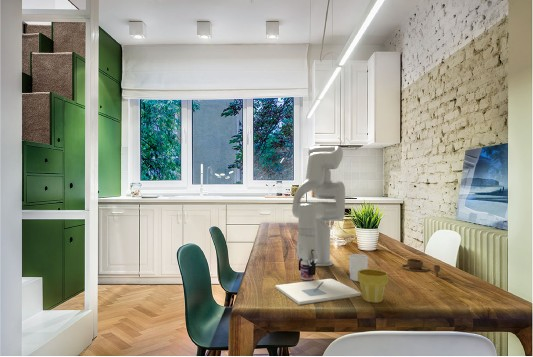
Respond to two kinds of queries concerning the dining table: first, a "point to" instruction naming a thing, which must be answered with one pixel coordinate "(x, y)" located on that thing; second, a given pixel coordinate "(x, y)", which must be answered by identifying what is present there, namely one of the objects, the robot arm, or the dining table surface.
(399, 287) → the dining table surface
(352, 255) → the white cup
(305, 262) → the pill bottle
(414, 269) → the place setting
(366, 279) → the plant pot
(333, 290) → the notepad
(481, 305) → the dining table surface
